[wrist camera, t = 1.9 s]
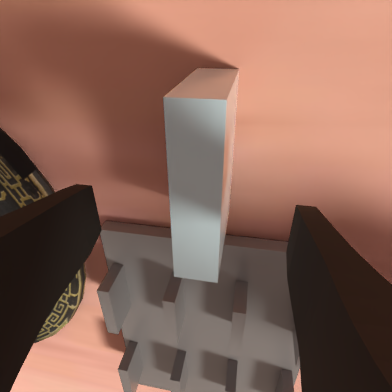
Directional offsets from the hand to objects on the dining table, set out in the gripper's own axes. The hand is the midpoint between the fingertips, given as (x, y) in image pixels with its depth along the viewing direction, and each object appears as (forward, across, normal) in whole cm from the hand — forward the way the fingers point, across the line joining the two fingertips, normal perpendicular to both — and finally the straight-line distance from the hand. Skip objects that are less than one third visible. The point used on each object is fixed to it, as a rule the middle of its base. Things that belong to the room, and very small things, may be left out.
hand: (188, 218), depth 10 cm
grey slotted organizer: (+7, 0, +16) cm, 17 cm away
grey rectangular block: (+7, 0, 0) cm, 7 cm away
